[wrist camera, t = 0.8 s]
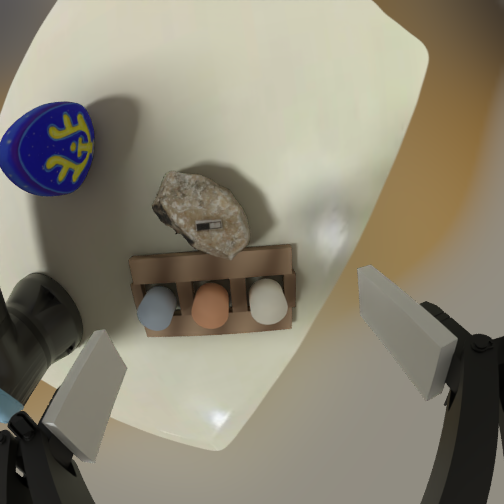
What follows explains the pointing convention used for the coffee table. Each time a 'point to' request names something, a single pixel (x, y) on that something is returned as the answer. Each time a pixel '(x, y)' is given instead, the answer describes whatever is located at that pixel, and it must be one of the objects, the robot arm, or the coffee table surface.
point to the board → (215, 268)
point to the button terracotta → (210, 306)
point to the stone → (202, 214)
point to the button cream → (267, 301)
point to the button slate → (157, 308)
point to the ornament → (49, 149)
